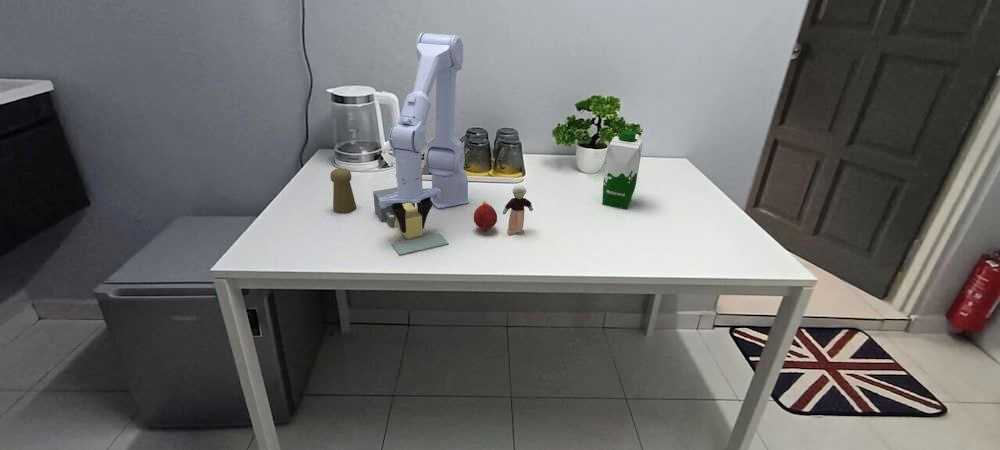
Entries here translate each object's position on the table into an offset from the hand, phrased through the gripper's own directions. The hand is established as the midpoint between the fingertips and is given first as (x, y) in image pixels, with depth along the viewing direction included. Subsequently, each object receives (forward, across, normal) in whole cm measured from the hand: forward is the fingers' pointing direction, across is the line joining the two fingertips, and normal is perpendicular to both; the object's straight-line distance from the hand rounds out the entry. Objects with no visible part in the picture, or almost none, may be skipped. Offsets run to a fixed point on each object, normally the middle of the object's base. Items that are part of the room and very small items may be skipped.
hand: (412, 228), depth 118 cm
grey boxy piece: (+2, 0, +12) cm, 12 cm away
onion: (+2, +17, -5) cm, 18 cm away
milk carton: (+2, +59, -6) cm, 59 cm away
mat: (+2, 0, -5) cm, 5 cm away
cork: (+2, -11, +22) cm, 24 cm away
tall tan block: (+2, 0, +2) cm, 3 cm away
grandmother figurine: (+2, +24, -9) cm, 26 cm away
